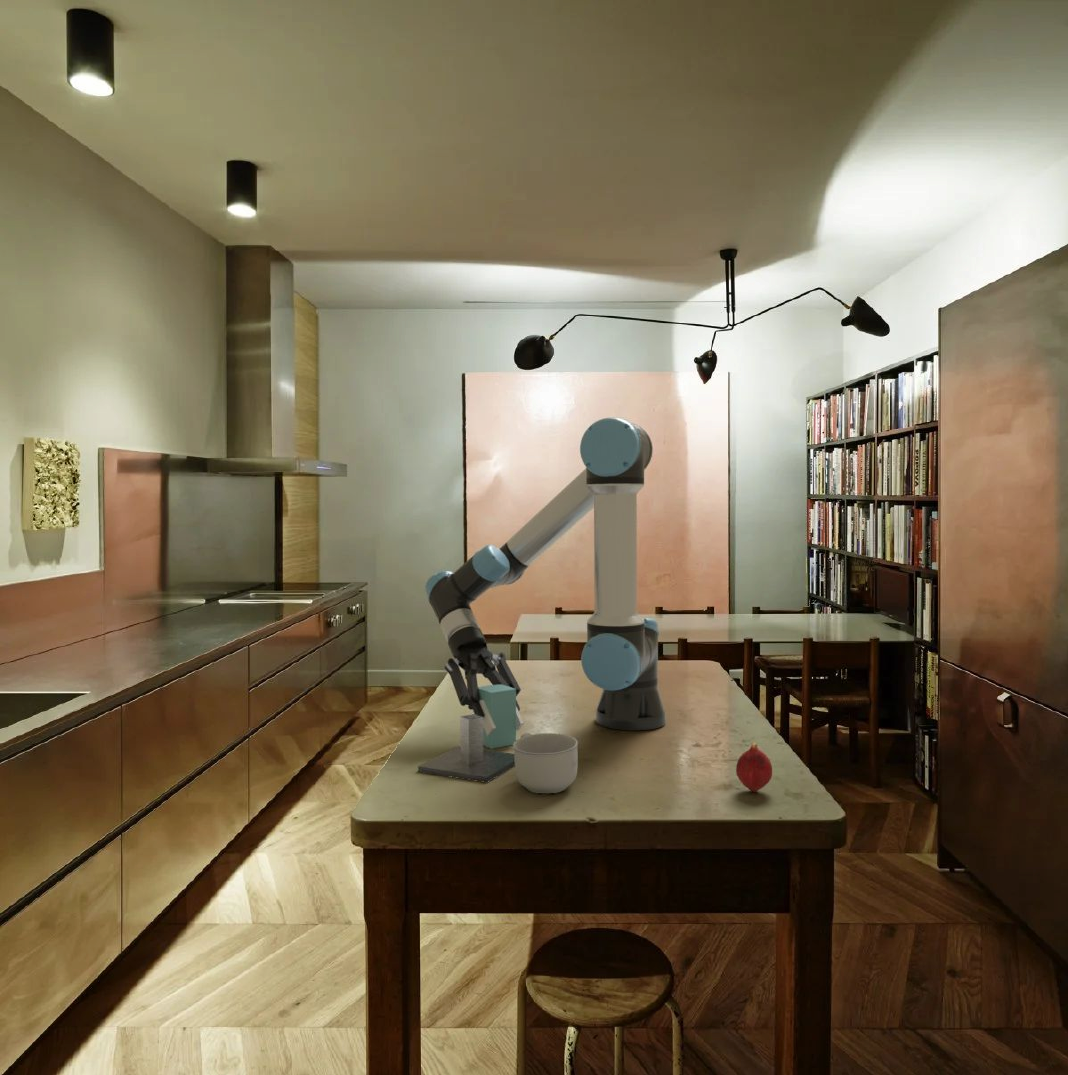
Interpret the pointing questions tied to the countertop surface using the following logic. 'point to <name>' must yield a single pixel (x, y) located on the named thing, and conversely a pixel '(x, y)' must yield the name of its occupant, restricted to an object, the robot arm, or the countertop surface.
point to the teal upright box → (500, 714)
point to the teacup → (546, 761)
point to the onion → (754, 769)
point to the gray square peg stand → (470, 756)
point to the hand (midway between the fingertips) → (505, 729)
